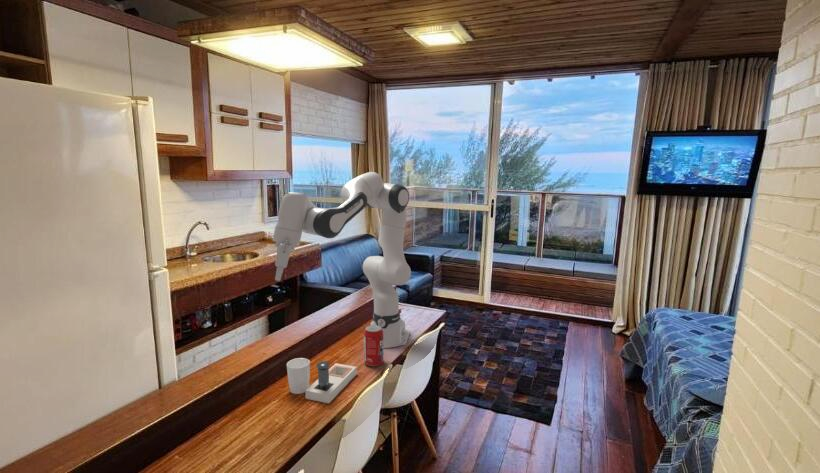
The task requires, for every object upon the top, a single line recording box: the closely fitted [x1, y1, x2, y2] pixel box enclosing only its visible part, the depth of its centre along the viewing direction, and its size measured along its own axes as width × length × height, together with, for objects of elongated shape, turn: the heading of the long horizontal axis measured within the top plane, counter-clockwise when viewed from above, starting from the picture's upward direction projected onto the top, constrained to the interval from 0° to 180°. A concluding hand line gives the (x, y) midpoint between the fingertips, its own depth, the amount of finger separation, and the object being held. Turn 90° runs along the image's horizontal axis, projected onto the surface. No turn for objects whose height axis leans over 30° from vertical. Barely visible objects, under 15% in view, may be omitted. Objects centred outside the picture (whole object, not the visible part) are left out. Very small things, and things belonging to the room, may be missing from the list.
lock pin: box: [316, 360, 331, 391], centre depth 141 cm, size 4×4×11 cm
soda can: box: [363, 324, 385, 367], centre depth 164 cm, size 8×8×15 cm
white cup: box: [286, 357, 311, 395], centre depth 144 cm, size 8×8×10 cm
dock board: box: [305, 362, 358, 404], centre depth 147 cm, size 21×9×3 cm, turn 161°
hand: (277, 279), depth 136 cm, fingers open, 8 cm apart
